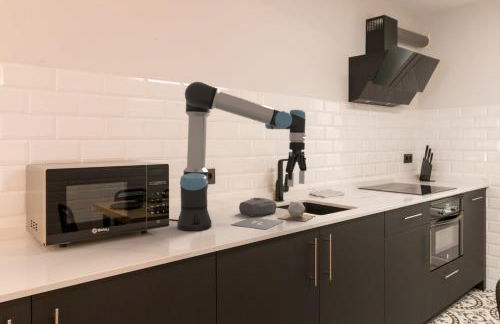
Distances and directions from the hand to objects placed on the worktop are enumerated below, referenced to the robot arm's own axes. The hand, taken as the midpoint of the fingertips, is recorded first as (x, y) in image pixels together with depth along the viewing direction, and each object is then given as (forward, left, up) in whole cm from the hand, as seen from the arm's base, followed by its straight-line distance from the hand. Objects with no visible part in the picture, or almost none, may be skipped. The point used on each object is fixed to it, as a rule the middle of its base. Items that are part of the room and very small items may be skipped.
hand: (296, 185), depth 184 cm
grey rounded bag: (+2, +22, -17) cm, 27 cm away
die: (0, 0, -16) cm, 16 cm away
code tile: (-20, +11, -16) cm, 28 cm away
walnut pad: (0, 0, -16) cm, 16 cm away
